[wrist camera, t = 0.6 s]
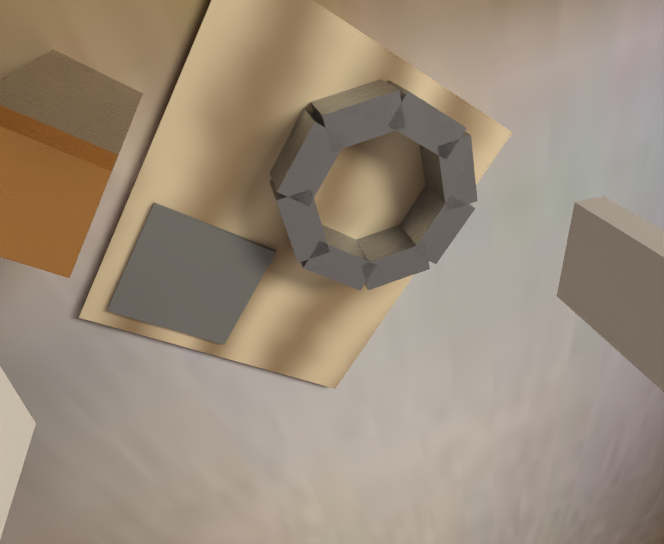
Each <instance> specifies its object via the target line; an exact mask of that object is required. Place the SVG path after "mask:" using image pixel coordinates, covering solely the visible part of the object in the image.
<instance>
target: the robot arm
mask: <svg viewBox="0 0 664 544" xmlns="http://www.w3.org/2000/svg"><path fill="white" fill-rule="evenodd" d="M557 297H558V298H560V299H561V300H562V301H563V302H564V303H565V304H566V305H567V306H569V307H570V308H571V309H572V310H573V311H574V312H575V313H576V314H577V315H579V316H580V317H581V318H582V319H583V320H584V321H585V322H586V323H587V324H589V325H590V326H591V327H592V328H593V329H594V330H595V331H596V332H598V333H599V334H600V335H601V336H602V337H603V338H604V339H605V340H606V341H608V342H609V343H610V344H611V345H612V346H613V347H614V348H615V349H616V350H618V351H619V352H620V353H621V354H622V355H623V356H624V357H625V358H627V359H628V360H629V361H630V362H631V363H632V364H633V365H634V366H635V367H637V368H638V369H639V370H640V371H641V372H642V373H643V374H644V375H645V376H647V377H648V378H649V379H650V380H651V381H652V382H653V383H654V384H656V385H657V386H658V387H659V388H660V389H661V390H662V391H663V392H664V230H663V229H661V228H659V227H657V226H655V225H654V224H652V223H650V222H648V221H647V220H645V219H643V218H641V217H639V216H638V215H636V214H634V213H632V212H630V211H629V210H627V209H625V208H623V207H622V206H620V205H618V204H616V203H614V202H613V201H611V200H609V199H607V198H606V197H604V196H602V197H597V198H592V199H587V200H583V201H578V202H575V204H574V209H573V214H572V219H571V225H570V230H569V235H568V240H567V246H566V251H565V256H564V261H563V266H562V272H561V277H560V282H559V287H558V293H557ZM35 425H36V423H35V422H34V420H33V418H32V417H31V415H30V414H29V412H28V410H27V409H26V407H25V406H24V404H23V402H22V401H21V399H20V398H19V396H18V394H17V393H16V391H15V389H14V388H13V386H12V385H11V383H10V381H9V380H8V378H7V377H6V375H5V373H4V372H3V370H2V369H1V367H0V538H1V535H2V531H3V528H4V525H5V522H6V519H7V515H8V512H9V509H10V506H11V502H12V499H13V496H14V493H15V489H16V486H17V483H18V480H19V476H20V473H21V470H22V467H23V463H24V460H25V457H26V454H27V451H28V447H29V444H30V441H31V438H32V434H33V431H34V428H35Z"/></svg>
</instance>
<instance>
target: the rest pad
mask: <svg viewBox="0 0 664 544" xmlns="http://www.w3.org/2000/svg"><path fill="white" fill-rule="evenodd" d="M275 254H276V250H274V249H271V248H269V247H266V246H264V245H261V244H259V243H256V242H254V241H251V240H249V239H246V238H244V237H241V236H239V235H236V234H234V233H231V232H228V231H226V230H223V229H221V228H218V227H216V226H213V225H211V224H208V223H206V222H203V221H201V220H198V219H196V218H193V217H191V216H188V215H186V214H183V213H180V212H178V211H175V210H173V209H170V208H168V207H165V206H163V205H160V204H158V203H155V202H154V203H153V206H152V208H151V210H150V213H149V215H148V217H147V219H146V222H145V224H144V226H143V228H142V231H141V233H140V235H139V238H138V240H137V242H136V244H135V247H134V249H133V251H132V253H131V256H130V258H129V260H128V263H127V265H126V267H125V269H124V272H123V274H122V276H121V278H120V281H119V283H118V285H117V288H116V290H115V292H114V294H113V297H112V299H111V301H110V303H109V306H108V308H107V311H109V312H112V313H116V314H119V315H122V316H126V317H129V318H133V319H136V320H140V321H143V322H147V323H150V324H154V325H157V326H161V327H164V328H167V329H171V330H174V331H178V332H181V333H185V334H188V335H192V336H195V337H199V338H202V339H205V340H209V341H212V342H216V343H219V344H223V345H224V344H225V343H226V341H227V339H228V337H229V336H230V334H231V332H232V330H233V328H234V327H235V325H236V323H237V321H238V320H239V318H240V316H241V314H242V312H243V311H244V309H245V307H246V305H247V304H248V302H249V300H250V298H251V296H252V295H253V293H254V291H255V289H256V288H257V286H258V284H259V282H260V280H261V279H262V277H263V275H264V273H265V272H266V270H267V268H268V266H269V264H270V263H271V261H272V259H273V257H274V256H275Z"/></svg>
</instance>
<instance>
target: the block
mask: <svg viewBox="0 0 664 544" xmlns="http://www.w3.org/2000/svg"><path fill="white" fill-rule="evenodd" d="M142 94H143V93H141V92H139V91H137V90H135V89H133V88H131V87H129V86H127V85H124V84H122V83H120V82H118V81H116V80H114V79H112V78H110V77H108V76H106V75H104V74H102V73H100V72H98V71H96V70H94V69H91V68H89V67H87V66H85V65H83V64H81V63H79V62H77V61H75V60H73V59H71V58H69V57H67V56H65V55H63V54H61V53H59V52H56V51H54V50H53V51H51V52H49V53H48V54H46V55H44V56H43V57H41V58H39V59H38V60H36V61H34V62H33V63H31V64H29V65H27V66H26V67H24V68H22V69H21V70H19V71H17V72H16V73H14V74H12V75H11V76H9V77H7V78H5V79H4V80H2V81H0V257H3V258H6V259H9V260H13V261H16V262H19V263H22V264H26V265H29V266H32V267H35V268H39V269H42V270H45V271H48V272H52V273H55V274H58V275H61V276H65V277H68V278H70V275H71V273H72V270H73V268H74V265H75V263H76V260H77V258H78V255H79V253H80V250H81V248H82V245H83V243H84V240H85V238H86V235H87V233H88V230H89V228H90V225H91V223H92V220H93V217H94V215H95V212H96V210H97V207H98V205H99V202H100V200H101V197H102V195H103V192H104V190H105V187H106V185H107V182H108V180H109V177H110V175H111V172H112V170H113V167H114V165H115V162H116V160H117V157H118V155H119V152H120V150H121V147H122V144H123V142H124V139H125V137H126V134H127V132H128V129H129V127H130V124H131V122H132V119H133V117H134V114H135V112H136V109H137V107H138V104H139V102H140V99H141V96H142Z"/></svg>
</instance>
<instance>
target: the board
mask: <svg viewBox="0 0 664 544" xmlns="http://www.w3.org/2000/svg"><path fill="white" fill-rule="evenodd" d="M379 79H382V80H383V81H385V82H387V83H388V81H389V80H390V81H392V82H394V83H395V84H397V85H399V86H401V87H402V88H404V89H406V90H408V91H409V92H411V93H413V94H414V95H416V96H417V97H419V98H420V99H422V100H424V101H425V102H427V103H428V104H430V105H431V106H433V107H435V108H436V109H438V110H439V111H441V112H443V113H444V114H446V115H447V116H449V117H450V118H452V119H454V120H455V121H457V122H458V123H460V124H462V125H463V126H465V127H466V128H467V129H466V130H465V132H467V133H469V134H470V135H471V140H472V150H473V161H474V171H475V182H476V184H477V183H478V181H479V180H480V179H481V177H482V176H483V174H484V173H485V171H486V170H487V168H488V167H489V166H490V164H491V163H492V161H493V160H494V158H495V157H496V155H497V154H498V153H499V151H500V150H501V148H502V147H503V145H504V144H505V142H506V141H507V140H508V138H509V137H510V135H511V134H512V132H511V131H509V130H508V129H506V128H505V127H503V126H502V125H500V124H499V123H497V122H496V121H494V120H493V119H491V118H490V117H488V116H487V115H485V114H484V113H482V112H481V111H479V110H478V109H476V108H475V107H473V106H472V105H470V104H469V103H467V102H466V101H464V100H463V99H461V98H460V97H458V96H457V95H455V94H454V93H452V92H451V91H449V90H447V89H446V88H444V87H443V86H441V85H440V84H438V83H437V82H435V81H434V80H432V79H431V78H429V77H428V76H426V75H425V74H423V73H422V72H420V71H419V70H417V69H416V68H414V67H413V66H411V65H410V64H408V63H407V62H405V61H404V60H402V59H401V58H399V57H398V56H396V55H395V54H393V53H392V52H390V51H389V50H387V49H386V48H384V47H383V46H381V45H380V44H378V43H377V42H375V41H374V40H372V39H371V38H369V37H368V36H366V35H365V34H363V33H362V32H360V31H358V30H357V29H355V28H354V27H352V26H351V25H349V24H348V23H346V22H345V21H343V20H342V19H340V18H339V17H337V16H336V15H334V14H333V13H331V12H330V11H328V10H327V9H325V8H324V7H322V6H321V5H319V4H318V3H316V2H315V1H313V0H211V1H210V4H209V6H208V8H207V11H206V13H205V16H204V18H203V20H202V23H201V25H200V28H199V30H198V32H197V35H196V37H195V40H194V42H193V44H192V47H191V49H190V51H189V54H188V56H187V59H186V61H185V63H184V66H183V68H182V71H181V73H180V75H179V78H178V80H177V83H176V85H175V87H174V90H173V92H172V95H171V97H170V99H169V102H168V104H167V107H166V109H165V111H164V114H163V116H162V119H161V121H160V123H159V126H158V128H157V130H156V133H155V135H154V138H153V140H152V142H151V145H150V147H149V150H148V152H147V154H146V157H145V159H144V162H143V164H142V166H141V169H140V171H139V174H138V176H137V178H136V181H135V183H134V186H133V188H132V190H131V193H130V195H129V197H128V200H127V202H126V205H125V207H124V209H123V212H122V214H121V217H120V219H119V221H118V224H117V226H116V229H115V231H114V233H113V236H112V238H111V241H110V243H109V245H108V248H107V250H106V253H105V255H104V257H103V260H102V262H101V265H100V267H99V269H98V272H97V274H96V276H95V279H94V281H93V284H92V286H91V288H90V291H89V293H88V296H87V298H86V300H85V303H84V305H83V308H82V310H81V313H80V316H79V318H82V319H85V320H89V321H93V322H96V323H100V324H103V325H107V326H111V327H114V328H118V329H122V330H125V331H129V332H132V333H136V334H140V335H143V336H147V337H150V338H154V339H158V340H161V341H165V342H168V343H172V344H176V345H179V346H183V347H187V348H190V349H194V350H197V351H201V352H205V353H208V354H212V355H215V356H219V357H223V358H226V359H230V360H233V361H237V362H241V363H244V364H248V365H252V366H255V367H259V368H262V369H266V370H270V371H273V372H277V373H280V374H284V375H288V376H291V377H295V378H298V379H302V380H306V381H309V382H313V383H316V384H320V385H324V386H327V387H331V388H336V387H337V385H338V384H339V382H340V381H341V379H342V378H343V376H344V375H345V374H346V372H347V371H348V369H349V368H350V366H351V365H352V363H353V362H354V361H355V359H356V358H357V356H358V355H359V353H360V352H361V350H362V349H363V348H364V346H365V345H366V343H367V342H368V340H369V339H370V337H371V336H372V335H373V333H374V332H375V330H376V329H377V327H378V326H379V324H380V323H381V322H382V320H383V319H384V317H385V316H386V314H387V313H388V311H389V310H390V309H391V307H392V306H393V304H394V303H395V301H396V300H397V298H398V297H399V296H400V294H401V293H402V291H403V290H404V288H405V287H406V285H407V284H408V283H409V281H410V280H411V278H412V277H413V275H411V276H408V277H405V278H402V279H399V280H397V281H394V282H391V283H388V284H385V285H383V286H380V287H377V288H374V289H371V290H367V288H366V286H365V285H364V286H363V288H362V289H361V291H360V290H357V289H355V288H352V287H350V286H347V285H345V284H342V283H339V282H337V281H334V280H332V279H329V278H327V277H324V276H321V275H319V274H316V273H314V272H311V271H309V270H306V269H303V267H302V264H301V262H300V263H298V262H297V259H296V257H295V254H294V251H293V248H292V245H291V242H290V240H289V237H288V234H287V231H286V228H285V225H284V222H283V220H282V217H281V214H280V211H279V208H278V205H277V202H276V199H275V196H274V194H273V191H272V188H271V185H270V182H269V181H270V180H272V177H271V175H270V171H271V169H272V167H273V166H274V164H275V162H276V160H277V158H278V156H279V154H280V152H281V150H282V148H283V146H284V144H285V143H286V141H287V139H288V137H289V135H290V133H291V131H292V129H293V127H294V125H295V123H296V121H297V119H298V118H299V116H300V114H301V112H302V110H303V108H305V109H306V110H308V111H310V112H312V113H313V109H312V106H311V102H312V101H315V100H318V99H321V98H324V97H327V96H330V95H333V94H336V93H339V92H343V91H346V90H349V89H352V88H355V87H358V86H361V85H364V84H367V83H370V82H373V81H376V80H379ZM424 187H425V179H424V172H423V166H422V160H421V153H420V147H419V144H418V143H416V142H415V141H413V140H411V139H409V138H408V137H406V136H404V135H403V134H401V133H399V132H397V131H393V132H390V133H387V134H385V135H382V136H379V137H376V138H373V139H370V140H367V141H364V142H361V143H358V144H355V145H352V146H349V147H346V148H343V149H341V151H340V153H339V155H338V156H337V158H336V160H335V162H334V163H333V165H332V167H331V169H330V170H329V172H328V174H327V176H326V177H325V179H324V181H323V183H322V184H321V186H320V188H319V190H318V192H317V193H316V195H315V197H314V200H315V203H316V207H317V210H318V213H319V217H320V220H321V224H322V225H324V226H327V227H329V228H331V229H334V230H336V231H338V232H340V233H343V234H345V235H347V236H349V237H352V238H354V239H356V240H357V239H359V238H362V237H365V236H368V235H371V234H374V233H377V232H380V231H383V230H385V229H388V228H391V227H394V226H397V225H400V223H401V222H402V220H403V219H404V217H405V216H406V214H407V213H408V211H409V210H410V208H411V206H412V205H413V203H414V202H415V200H416V199H417V197H418V196H419V194H420V193H421V191H422V190H423V188H424ZM154 202H155V203H158V204H160V205H163V206H165V207H168V208H170V209H173V210H175V211H178V212H180V213H183V214H186V215H188V216H191V217H193V218H196V219H198V220H201V221H203V222H206V223H208V224H211V225H213V226H216V227H218V228H221V229H223V230H226V231H228V232H231V233H234V234H236V235H239V236H241V237H244V238H246V239H249V240H251V241H254V242H256V243H259V244H261V245H264V246H266V247H269V248H271V249H274V250H276V254H275V256H274V257H273V259H272V261H271V263H270V264H269V266H268V268H267V270H266V272H265V273H264V275H263V277H262V279H261V280H260V282H259V284H258V286H257V288H256V289H255V291H254V293H253V295H252V296H251V298H250V300H249V302H248V304H247V305H246V307H245V309H244V311H243V312H242V314H241V316H240V318H239V320H238V321H237V323H236V325H235V327H234V328H233V330H232V332H231V334H230V336H229V337H228V339H227V341H226V343H225V344H224V345H223V344H219V343H216V342H212V341H209V340H205V339H202V338H199V337H195V336H192V335H188V334H185V333H181V332H178V331H174V330H171V329H167V328H164V327H161V326H157V325H154V324H150V323H147V322H143V321H140V320H136V319H133V318H129V317H126V316H122V315H119V314H116V313H112V312H109V311H107V308H108V306H109V303H110V301H111V299H112V297H113V294H114V292H115V290H116V288H117V285H118V283H119V281H120V278H121V276H122V274H123V272H124V269H125V267H126V265H127V263H128V260H129V258H130V256H131V253H132V251H133V249H134V247H135V244H136V242H137V240H138V238H139V235H140V233H141V231H142V228H143V226H144V224H145V222H146V219H147V217H148V215H149V213H150V210H151V208H152V206H153V203H154Z"/></svg>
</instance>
